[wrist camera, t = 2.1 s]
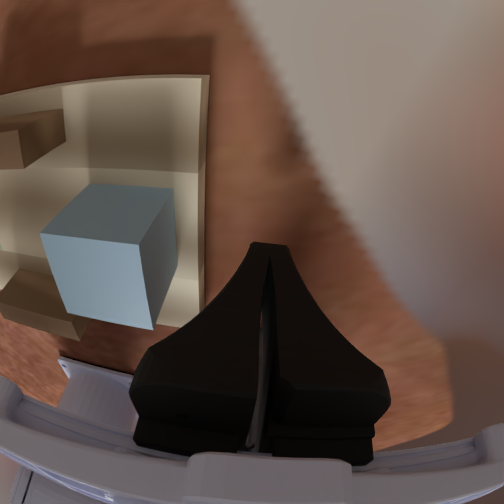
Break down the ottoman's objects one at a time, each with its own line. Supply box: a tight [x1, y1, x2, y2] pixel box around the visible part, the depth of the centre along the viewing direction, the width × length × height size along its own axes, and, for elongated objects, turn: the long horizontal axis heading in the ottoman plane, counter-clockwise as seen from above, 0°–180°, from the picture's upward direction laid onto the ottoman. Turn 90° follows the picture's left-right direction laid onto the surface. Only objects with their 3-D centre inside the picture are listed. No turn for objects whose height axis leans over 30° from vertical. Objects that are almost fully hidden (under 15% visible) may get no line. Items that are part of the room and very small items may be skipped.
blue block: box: [40, 184, 178, 330], centre depth 12 cm, size 4×4×4 cm
